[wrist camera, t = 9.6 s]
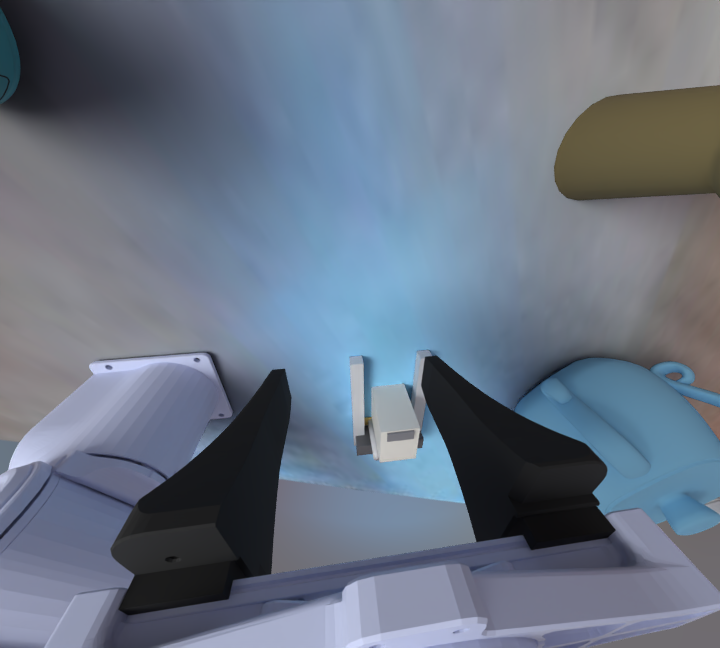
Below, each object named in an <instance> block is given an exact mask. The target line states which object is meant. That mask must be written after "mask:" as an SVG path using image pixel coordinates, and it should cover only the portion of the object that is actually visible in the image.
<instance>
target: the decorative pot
mask: <svg viewBox="0 0 720 648" xmlns="http://www.w3.org/2000/svg"><path fill="white" fill-rule="evenodd" d="M672 372H677V373H681V374H682V378H680V379H679V380H677V381H674V380H671V379H669V378H667V377H666V376H665V375H666V374H668V373H672ZM694 380H695V374H694V373H693V371H692V370H691V369H690V368H689V367H687V366H686V365H684V364H681V363H678V362H673V361H668V362H662V363H658V364H656V365H654V366H653V367H651V368H650V370H648V369H646V368H644V367H642V366H639V365H637V364H634V363H631V362H628V361H622V360H616V359H610V358H586V359H583V360H577V361H575V362H573V363H571V364H570V365H569V366H567V367H565V368H563V369H561V370H560V371H558V372H557V373H555V374H553V375H552V376H551V377H549V378H548V379H546V380H544V381H543V382H542V383H541V384H539V385H538V386H537V387H535V388H534V389H533V390H532V391H530V392H529V393H528V394H527V395H526V396H525V397H524V398H522V399H521V400H520V401H519V402H518V404H517V406H516V408H515V411H514V412H516V413H518V414H520V415H522V416H524V417H525V418H527V419H529V420H531V421H533V422H536V423H538V424H540V425H542V426H544V427H546V428H549V429H551V430H553V431H555V432H558V433H560V434H563V435H566V436H568V437H571V438H573V439H576V440H578V441H581V442H583V443H586V444H587V445H588V446H589V447H590V448H591V449H592V451H593V452H594V453H595V454H596V455H597V456H598V457H599V458H600V459H601V460H602V461H603V462H604V463H605V464H606V466H607V468H608V469H607V475H606V477H605V478H604V480H603V481H602V482H601V483H600V484H599V486H598V487H597V488H596V489H595V490H594V491H593V494H594V496H595V497H596V498H597V499H598V500H599V502H600V505H599V506H597V507H598V509H599V510H600V511H601V512H602V513H603V515H605V514H607V513H610V512H613V511H619V510H625V509H632V508H641V509H642V510H643V511H644V512H645V513H646V514H647V515H648V516H649V517H650V518H651V519H652V520H653V521H654V523H655V524H658V523H661V522H664V521H666V520H667V521H668V522H669V524H670V526H671V527H672V529H673V530H674V531H675V533H676V534H678V535H692V534H696V533H699V532H702V531H705V530H707V529H709V528H711V527H713V526H715V525H717V524H718V523H719V522H720V514H718V513H717V512H715V511H714V510H712V509H711V508H709V507H707V506H705V505H704V504H706V503H708V502H710V501H712V500H714V499H716V498H718V497H720V441H719V440H718V438H717V437H716V435H715V434H714V433H713V431H712V430H711V428H710V427H709V426H708V424H707V423H706V422H705V420H704V419H703V418H702V417H701V415H700V414H699V413H698V412H697V411H696V409H695V408H694V407H693V406H692V405H691V404H690V403H689V402H688V401H687V400H686V399H685V398H684V397H683V396H682V395H684V396H687V397H690V398H693V399H696V400H699V401H702V402H706V403H709V404H712V405H714V406H717V407H720V394H718V393H714V392H711V391H708V390H704V389H701V388H697V387H694V386H690V384H691V383H693V382H694Z"/></svg>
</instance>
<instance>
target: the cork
mask: <svg viewBox="0 0 720 648" xmlns="http://www.w3.org/2000/svg"><path fill="white" fill-rule="evenodd" d="M554 172H555V182H556V184H557V187H558V189H559V191H560V192H561V193H562V194H563V195H564V196H566V197H567V198H570V199H574V200H593V199H612V198H631V197H650V196H669V195H687V194H706V193H716V194H717V195H718V196H719V197H720V85H717V86H707V87H696V88H686V89H675V90H665V91H654V92H644V93H633V94H623V95H616V96H610V97H606V98H604V99H602V100H600V101H598V102H596V103H594V104H593V105H591V106H590V107H589V108H588V109H587V110H586V111H584V112H583V113H582V114H581V115H580V116H579V117H578V118H577V119H576V120H575V122H574V123H573V124H572V126H571V127H570V129H569V130H568V131H567V133H566V134H565V136H564V139H563V141H562V143H561V145H560V147H559V149H558V152H557V157H556V161H555V166H554Z"/></svg>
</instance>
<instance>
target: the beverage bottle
mask: <svg viewBox="0 0 720 648" xmlns="http://www.w3.org/2000/svg"><path fill="white" fill-rule="evenodd" d="M19 79H20V58H19V52H18V48H17V44H16V40H15V38H14V35H13V33H12V30H11V28H10V25H9V23H8V21H7V19H6V17H5V15H4V13H3V12H2V10H1V8H0V104H1V103H3V102H5V101H6V100H7V99H9V98H10V97H11V96H12V94H13V93H14V92H15V90H16V88H17V86H18V83H19Z"/></svg>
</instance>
